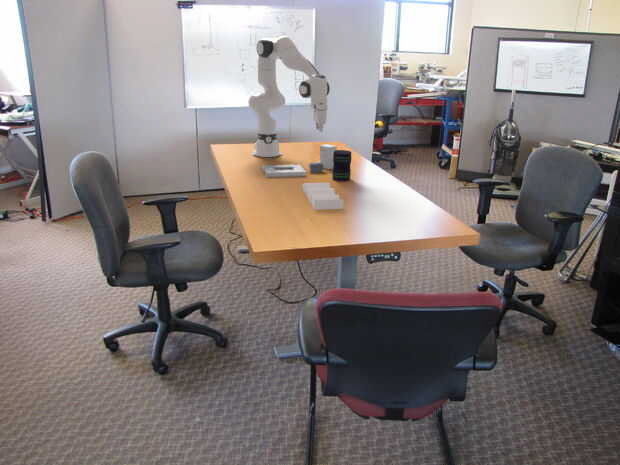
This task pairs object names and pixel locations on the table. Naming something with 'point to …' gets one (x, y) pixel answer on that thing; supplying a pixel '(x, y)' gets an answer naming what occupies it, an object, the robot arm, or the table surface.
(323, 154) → the small box
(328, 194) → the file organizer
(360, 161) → the table surface
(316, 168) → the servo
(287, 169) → the chassis
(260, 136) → the robot arm
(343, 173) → the dark ribbed barrel
